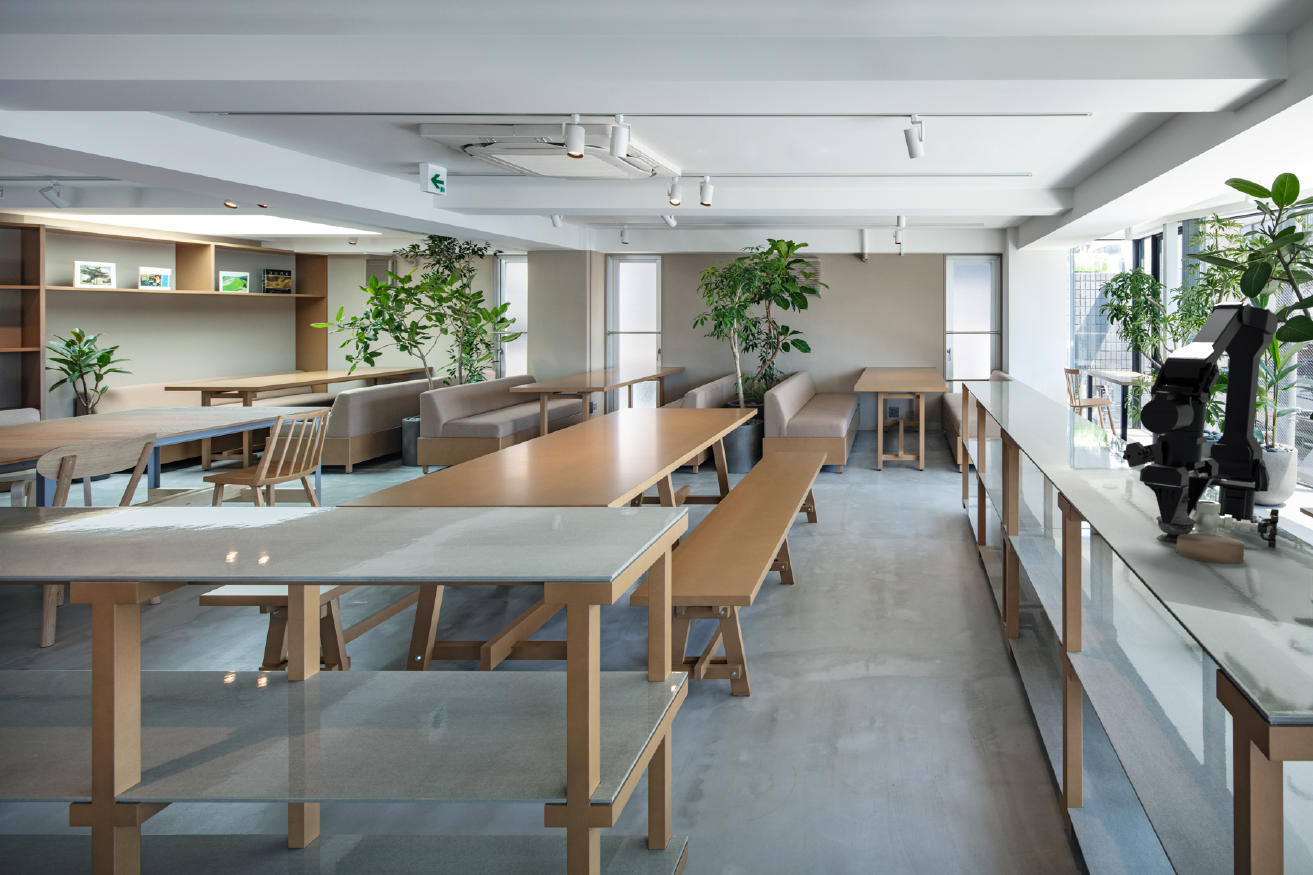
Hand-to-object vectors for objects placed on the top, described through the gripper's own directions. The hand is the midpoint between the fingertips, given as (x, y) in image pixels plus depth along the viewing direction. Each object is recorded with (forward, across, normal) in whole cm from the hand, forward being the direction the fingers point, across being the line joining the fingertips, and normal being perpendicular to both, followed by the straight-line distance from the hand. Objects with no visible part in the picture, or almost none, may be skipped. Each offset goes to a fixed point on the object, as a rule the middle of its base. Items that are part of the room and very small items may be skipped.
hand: (1175, 519), depth 144 cm
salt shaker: (+4, 0, 0) cm, 4 cm away
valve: (+4, -6, +7) cm, 10 cm away
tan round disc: (+4, +7, +7) cm, 11 cm away
